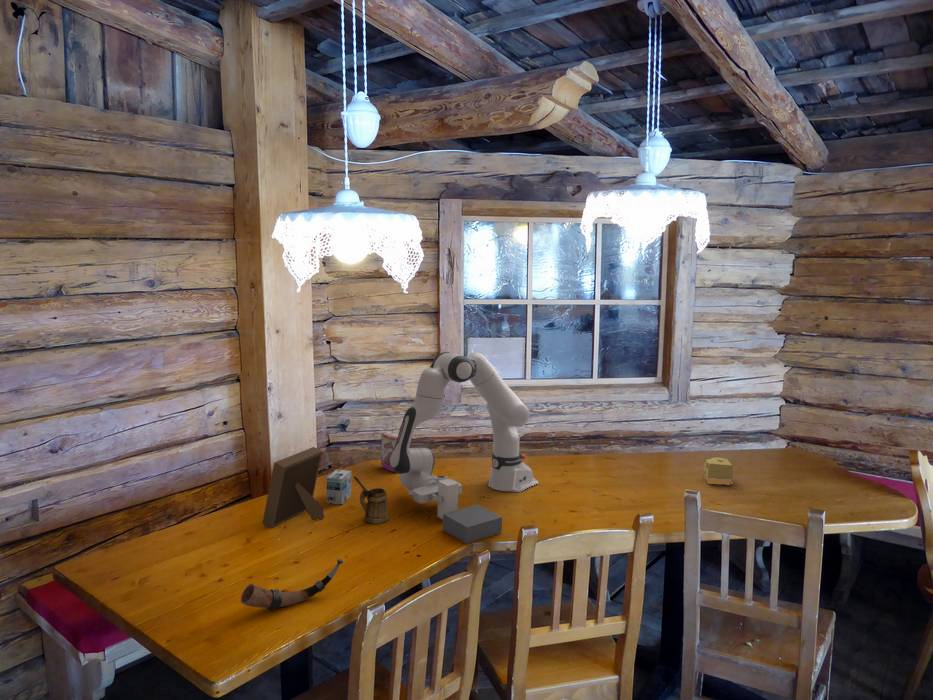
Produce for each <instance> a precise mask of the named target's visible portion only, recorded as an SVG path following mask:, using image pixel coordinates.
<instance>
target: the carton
mask: <svg viewBox="0 0 933 700" xmlns="http://www.w3.org/2000/svg"><path fill="white" fill-rule="evenodd" d="M453 480H454V479H452V480H451V478H448V479H446V480H441V481H438V496H442V497H444V501H443V502H439V501H437V518H440V519H441V520H443V514H446V513H449V512H453V511H457V510H459V494H458V486H459V483H460V482H458V481H457V482H458V483H457V482H455V481H456V480H454V481H453Z"/></svg>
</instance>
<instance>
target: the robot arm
mask: <svg viewBox="0 0 933 700" xmlns="http://www.w3.org/2000/svg"><path fill="white" fill-rule="evenodd" d="M469 380H470V382H471V384H472V385H473V386H474V389H476V391H477V392H478V394H479V395H480V396H481V398H482V399H483V400H484V401H486V410H487V411H488V414H489V417H490V423H491V429H492V434H493V435H492V436H493V438H492V439H493V445H492V447H493V448H492V449H493V450H492V453H491V469H490V476H489V479H488V483H487V486H488V487H489V488H490V487H491V488H490V489H493V490H495V491H498V492H499V491H501V492H512V493H513V492H514V493H520V492H521V493H522V492H523V491H526V490H527V488H528V489H530V488H532V487H531V486H533V487H534V485H535V486H537V485H539V481H538V480H537V479H536V478H534V473H533V471H532V469H531V467H530V466H528V465H526V463H524V462H523V460H526V459H527V455H526V454H524V453H522V454H520V434H519V432H518V430H517V428H522V427H524V426H525V425H526V424H527V423H528V421H529V419H530V415H531V412H530V409H529V407H527V406H526V404H524V403H523V401H522V400H521V399H520V398H519V397H518V396H517V394H516V393H515V392H514V391H513V390H512V389H511V388H510V387H509V386H508V385H507V383H506V382H505V381H504V380H503V378H502V377H501V376H500V374H499V373H498V372H497V370H496V369H495V367H494V366H493V365H492V364H491V362H490V360H488V359H487V358H486V356H484V355H483V354H482V353H480V352H477V351H474V352H471V353H469V354H468V355H466V356H465V355H461V354H459V353H454V352H449V351H444V352H440V353H438V354H437V355H436V356H435V358H434V359H433V361H432V363H431V364H430V367H429V368H425V369H424V370H422V372H421V374H420V377H419V379H418V382H417V387H416V393H415V398H414V400H413V402H412V403H411V406H410V407H409V408H407V409H406V411H405V413H404V415H403V419H402V422H401V425H400V428H399V431H398V434H397V435H398V438H397V441H396V444H395V447H394V449H393V451H392V453H391V455H390V460H389V462H390V466H391V468H392V469H393V470H394V471H395V472H396V473H395V474H398V475H399V481H400V483H401V484H402V486H403V487H404V488H406V489H407V490H408V495H409V496H410V497H412V499H413V500H414V501H415V502H416V503H418V504H425V503H429V502H438V501H439V502H443V501H444V497H442V496H438V481H441V480H446V479H449V477H448V476H447V475H432V473H433V471H434V468H435V463H436V462H435V461H436V459H435V455H434V454H433V452H432V450H431V449H429V448H428V447H410V445H411V444H412V443H411V442H412V438H413V436H414V432H415V430H416V428H418V426H419V425H421V423H424V422H426V421H428V420H431V419H433V418H435V417H436V416H438V415H439V413H440V412H441V410H442V408H443V403H444V396H445V390H446V387H447V384H448V383H449V382H450V381H452V382H455V383H464V382H467V381H469ZM450 479H451V478H450ZM451 480H453V481H455V482H457V483H459V486H458V495H461V494H462V491H463V490H462V489H463V486H462V484H461V483H460V482H458V481H456V480H454V479H453V478H452V479H451ZM536 484H537V485H536ZM529 487H530V488H529ZM525 489H526V490H525Z"/></svg>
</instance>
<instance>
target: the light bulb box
mask: <svg viewBox="0 0 933 700" xmlns="http://www.w3.org/2000/svg"><path fill="white" fill-rule="evenodd" d="M350 496H351V497H352V470H346V469H337V468H336V469H335V470H334V471H332V473H330V474H329V475H328V476H327V477H326V504H330V503H332V504H333V505H339V504H342V505H343V504H344V503H345V502H347V501H348V500H349V499H350V498H351V497H350ZM349 497H350V498H349ZM348 498H349V499H348ZM347 499H348V500H347ZM332 504H331V505H332Z"/></svg>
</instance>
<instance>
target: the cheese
mask: <svg viewBox="0 0 933 700" xmlns="http://www.w3.org/2000/svg"><path fill="white" fill-rule="evenodd" d="M733 469H734V467H733V465H732V463H731V462H730V461H729V460H728V458H726V457H724V458H723V457H711V458H710V459H708V458H706V460H705V461H704V464H703V470H702V472H703V471H704V472H705V473H706V476H707V478H716V479H732V480H733V477H734V470H733Z"/></svg>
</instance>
